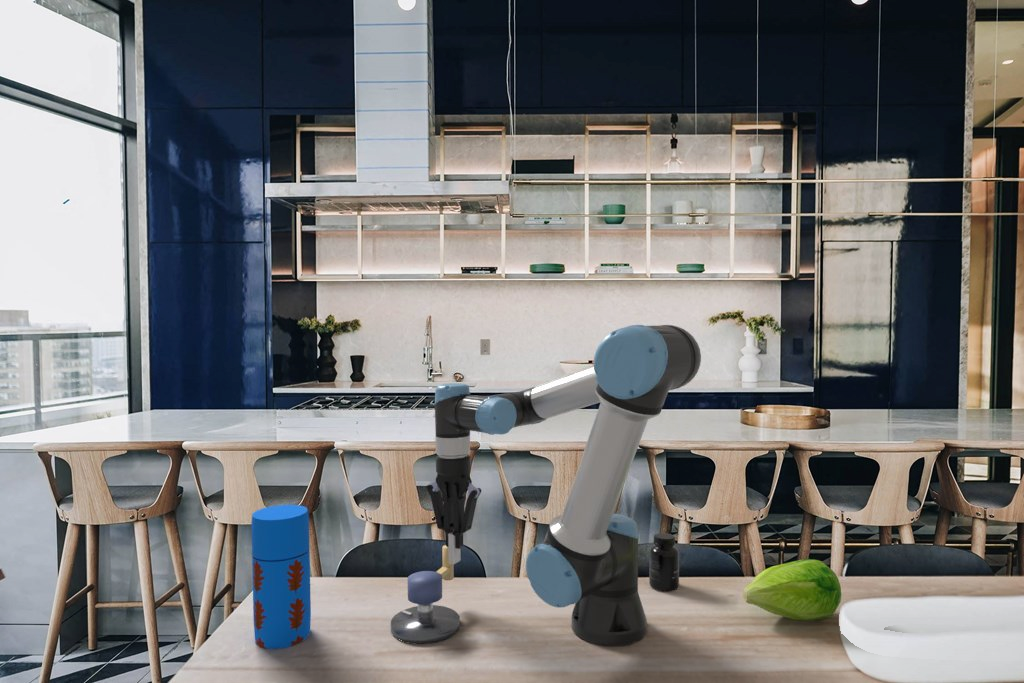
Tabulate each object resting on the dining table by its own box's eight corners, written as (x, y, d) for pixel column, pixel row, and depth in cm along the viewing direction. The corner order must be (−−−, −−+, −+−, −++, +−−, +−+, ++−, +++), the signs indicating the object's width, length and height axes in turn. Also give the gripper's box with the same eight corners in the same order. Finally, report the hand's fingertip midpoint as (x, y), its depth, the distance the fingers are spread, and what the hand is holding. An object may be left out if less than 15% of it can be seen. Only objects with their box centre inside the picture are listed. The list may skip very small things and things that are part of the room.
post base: (473, 623, 136) (473, 594, 136) (427, 651, 125) (426, 620, 125) (424, 606, 145) (423, 579, 144) (376, 631, 133) (375, 602, 133)
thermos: (274, 655, 124) (271, 523, 123) (242, 638, 131) (240, 514, 130) (322, 632, 133) (319, 510, 132) (290, 618, 139) (288, 501, 138)
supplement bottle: (682, 592, 151) (682, 540, 150) (652, 592, 151) (652, 540, 150) (675, 580, 158) (675, 531, 157) (646, 580, 158) (646, 531, 157)
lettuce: (728, 607, 143) (728, 553, 142) (815, 602, 145) (815, 548, 145) (760, 638, 129) (760, 578, 129) (855, 631, 131) (856, 572, 131)
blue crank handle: (432, 607, 130) (432, 572, 130) (401, 602, 132) (401, 568, 132) (464, 578, 145) (464, 546, 145) (436, 574, 147) (435, 543, 147)
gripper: (487, 454, 144) (488, 560, 144) (437, 449, 149) (439, 552, 150) (469, 460, 137) (471, 572, 138) (418, 455, 143) (420, 563, 144)
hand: (454, 561), depth 144 cm, fingers closed
